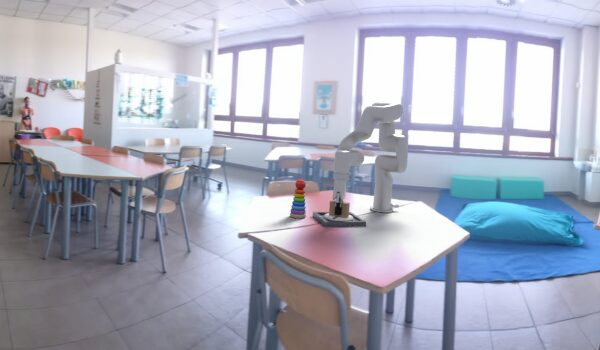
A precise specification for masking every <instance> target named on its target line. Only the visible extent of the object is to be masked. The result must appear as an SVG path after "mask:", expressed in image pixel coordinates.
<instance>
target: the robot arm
mask: <svg viewBox="0 0 600 350" xmlns="http://www.w3.org/2000/svg"><path fill="white" fill-rule="evenodd" d="M403 113H404V108H403V106H402V104H401V103H400V102H393V101H392V102H388V101H385V102H384V101H383V102H382V101H381V102H380V101H379V102H374V103H373V104H371V105H369V106H366V107H365V108H364V110H363V111H362V113H361V115H360V118H359V121H358V123H357V124H356V126H355V128H354V130H352V131H351V132H349V134H347V135H346V136H345V137H344V138H343V139H342V140H341V141H340V142H339V145H338V146H337V150H336V151H335V152H334V163H333V176H332V177H333V180H334V181H333V182H334V184H333V190H332V191H333V192H332V200H334V201H336V203H335V213H334V214H335V215H341V211H342V207H341V204H342V202H344V200H345V198H346V196H347V195H346V193H347V182H348V181H349V180H350V171H351V170H350V169H351V166H353V167H358V166H360V165H362V164H363V163H364V161H365V156H364V155H365V154H364V153H363V152H362V151H360V150H357V149H356V150H355V149H350V148H352V146H354V145H356V144H358V143H361V142H363V141H367V140H368V139H370V138H371V137H372V135H373V131H374V129H375V128H376V125H377V124H378V149H379V150H380V151H382V152H387V153H380V154H378V155H377V156H376V157H375V158H374V159H375V160H374V166H375V167H374V168H375V179H374V189H373V190H374V195H373V204H372V206H370V207H369V208H370V211H373V212H375V213H385V214H387V213H389V214H390V213H393V212H394V208H399V207H400V205H399V204H398V203H393V202H392V196H393V195H392V193H393V184H394V183H393V182H394V179H393V175H392V173H395V174H403V173H405V172H406V170H407V168H408V167H407V166H408V158H409V157H408V156H409V155H408V154H409V141H408V139H407V137H406V136H405V135H401V134H396V124H395V121H396V120H399V119H400V118H401V117H402V116H403ZM388 153H390V154H388ZM391 153H394V154H391Z"/></svg>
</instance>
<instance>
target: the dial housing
mask: <svg viewBox="0 0 600 350" xmlns="http://www.w3.org/2000/svg"><path fill="white" fill-rule="evenodd" d="M327 213H329V211H312V217H313V218H314V219H316V220H317V222H319V223H320V224H321V225H323V226H324V227H325V228H333V227H334V228H335V227H336V228H338V227H340V228H341V227H342V228H343V227H344V228H345V227H348V228H349V227H366V226H367V220H365V219H363V218H361V217H359V216H358V215H356V214H354V213H353V212H352V211H349V215H351V216H353V220H352V221H331V220H327V219H325V218H324V215H325V214H327Z"/></svg>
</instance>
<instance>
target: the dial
mask: <svg viewBox="0 0 600 350" xmlns="http://www.w3.org/2000/svg"><path fill="white" fill-rule="evenodd" d="M335 203H336V200H333V199H332V200H329V207H328V209H329V211H328V212H329V213H327V214H325V215H324V218H325V219H327V220H331V221H352V220H353V216H351V215H349V212H350V205H351V204H350V202H346V201H343V202H342V204H341V207H342V211H341V215H335V214H334V213H335Z"/></svg>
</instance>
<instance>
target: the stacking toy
mask: <svg viewBox="0 0 600 350" xmlns="http://www.w3.org/2000/svg"><path fill="white" fill-rule="evenodd" d="M294 185H295V189H294V193H293V200H292V205H291V208H290V213H289V216H290V217H291V218H294V219H305V218H306V217H307V216H306V212H307V210H306V198H305V197H306V190H305V188H306V181H305V180H304V179H301V178H299V179H298V180H296V181H295V184H294Z"/></svg>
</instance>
